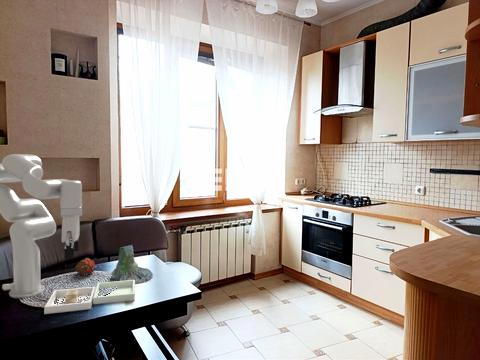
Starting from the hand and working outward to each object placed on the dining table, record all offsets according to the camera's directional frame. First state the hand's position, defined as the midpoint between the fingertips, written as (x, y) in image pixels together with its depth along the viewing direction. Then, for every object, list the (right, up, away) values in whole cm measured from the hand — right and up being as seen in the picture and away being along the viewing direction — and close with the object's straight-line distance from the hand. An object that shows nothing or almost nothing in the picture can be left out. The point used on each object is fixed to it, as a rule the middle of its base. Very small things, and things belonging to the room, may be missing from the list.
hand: (72, 254), depth 125 cm
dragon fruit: (-11, -18, +34) cm, 40 cm away
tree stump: (+13, -19, +31) cm, 38 cm away
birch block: (-1, -19, +1) cm, 20 cm away
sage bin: (+13, -20, +10) cm, 26 cm away
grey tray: (-1, -20, +1) cm, 20 cm away
